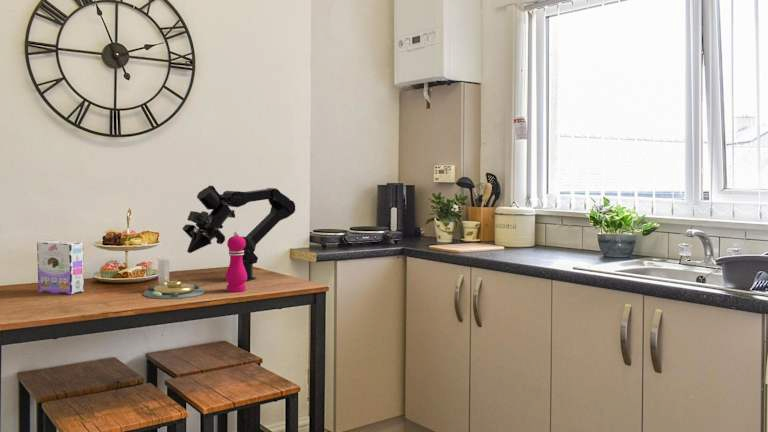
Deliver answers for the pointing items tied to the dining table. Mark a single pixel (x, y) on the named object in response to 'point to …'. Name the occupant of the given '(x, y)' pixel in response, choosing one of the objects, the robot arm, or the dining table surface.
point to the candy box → (60, 267)
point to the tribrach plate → (173, 293)
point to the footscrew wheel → (169, 285)
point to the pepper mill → (236, 264)
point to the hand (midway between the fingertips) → (188, 252)
